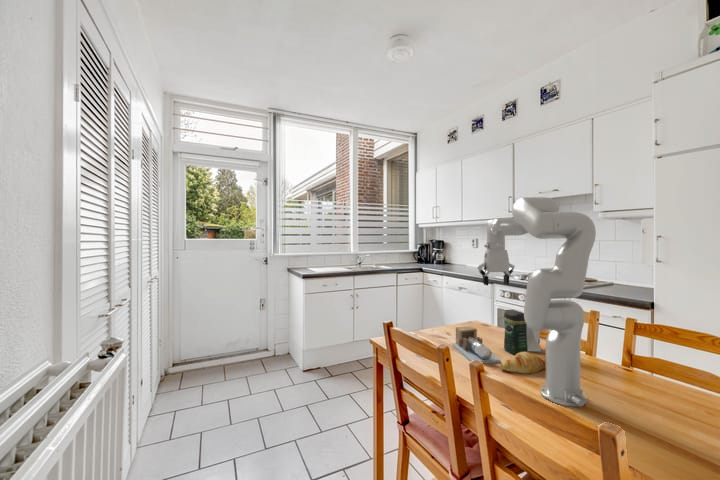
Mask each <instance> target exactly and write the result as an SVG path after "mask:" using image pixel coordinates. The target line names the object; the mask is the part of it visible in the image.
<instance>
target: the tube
mask: <svg viewBox="0 0 720 480" xmlns="http://www.w3.org/2000/svg"><path fill="white" fill-rule="evenodd" d="M467 340H468V347H469V348H470V349H471V350H473V351H474V352H475V353H476V354H478V355H479V356H480V357H481V358H483V359H484V360H488V359H489V358H490V357H491V356H492V354H493V352H492V350H491V349H490V348H489V347H487V346H486V345H484V344H483V342H482V343H480V342H479V341H477V340H476V339H475V338H473V337H470V338H468V339H467Z"/></svg>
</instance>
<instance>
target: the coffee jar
mask: <svg viewBox="0 0 720 480" xmlns="http://www.w3.org/2000/svg"><path fill="white" fill-rule="evenodd" d="M503 313H504V314H503V320H504V341H503V349H504V351H506V352H508V353H510V354H513V355H516V354H517V353H519V352H528V347H527V332H526V327H527V324H526V322H525V319H524V312H522V311H519V310H515V309H505V311H504V312H503Z"/></svg>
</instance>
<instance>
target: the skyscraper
mask: <svg viewBox="0 0 720 480" xmlns="http://www.w3.org/2000/svg"><path fill="white" fill-rule="evenodd" d="M522 295H523V298H524V300H525V298H526V291H524V292H523V294H522ZM526 332H527V347H528V352H529V353H544V354H546V350H544V349H543V348H542V347H541V346H540V343H541V339H540V334H541V331H536V330H533V329H531V328H529V327H528V326H527V327H526Z"/></svg>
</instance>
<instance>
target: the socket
mask: <svg viewBox="0 0 720 480" xmlns="http://www.w3.org/2000/svg"><path fill="white" fill-rule="evenodd" d="M477 333H478V329H477V328H476V327H474V326H459V327H458V326H457V327H455V343H456V344H457V345H458V346H462V344H463V338H466V339H468V338H470V337H473V338H475V339H476V340H477V337H478V334H477Z"/></svg>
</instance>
